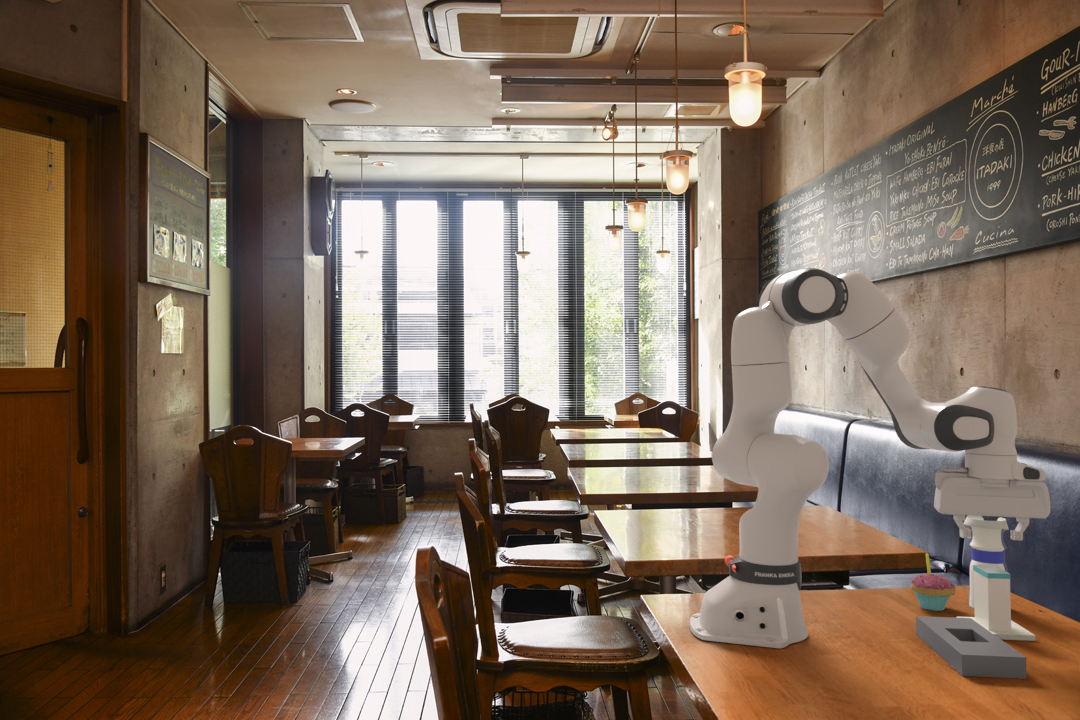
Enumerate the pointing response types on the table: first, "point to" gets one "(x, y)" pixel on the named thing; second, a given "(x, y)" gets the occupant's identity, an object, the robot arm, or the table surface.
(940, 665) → the table surface
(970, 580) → the water bottle
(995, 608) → the plug
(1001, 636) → the mat
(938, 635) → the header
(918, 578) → the cupcake
